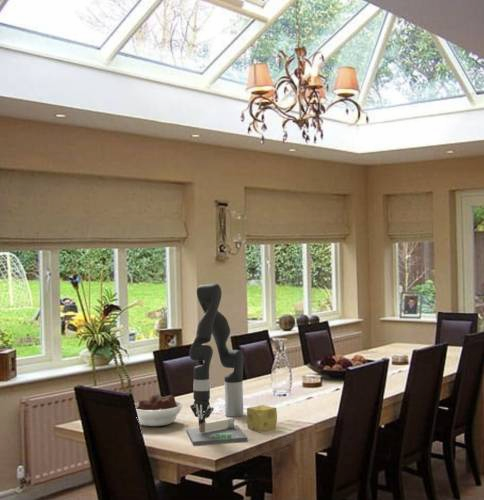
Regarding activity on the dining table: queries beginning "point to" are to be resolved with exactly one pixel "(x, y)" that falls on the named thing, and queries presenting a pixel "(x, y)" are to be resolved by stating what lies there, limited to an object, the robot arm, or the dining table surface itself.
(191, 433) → the grey square slab
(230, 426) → the beige wooden bar
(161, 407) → the bowl of brownies
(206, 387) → the robot arm
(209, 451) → the dining table surface
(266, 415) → the cheese
